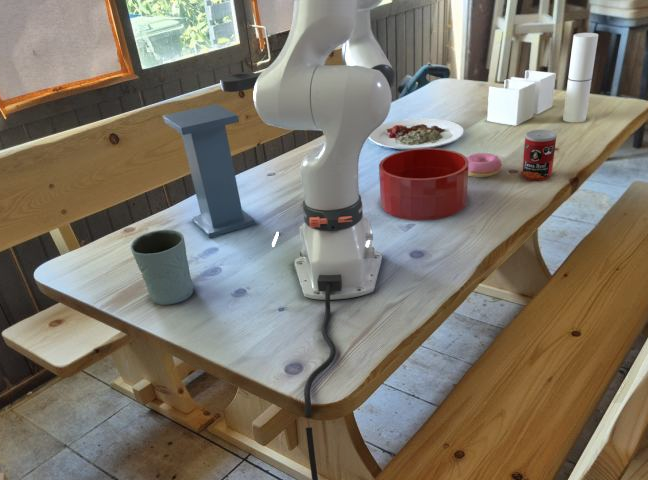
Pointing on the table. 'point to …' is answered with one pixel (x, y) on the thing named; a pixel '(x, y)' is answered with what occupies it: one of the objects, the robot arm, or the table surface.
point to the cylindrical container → (580, 76)
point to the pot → (424, 183)
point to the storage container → (521, 98)
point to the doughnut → (483, 165)
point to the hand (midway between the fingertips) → (280, 71)
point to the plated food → (416, 133)
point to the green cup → (163, 265)
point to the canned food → (538, 154)
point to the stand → (211, 168)
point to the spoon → (239, 81)
